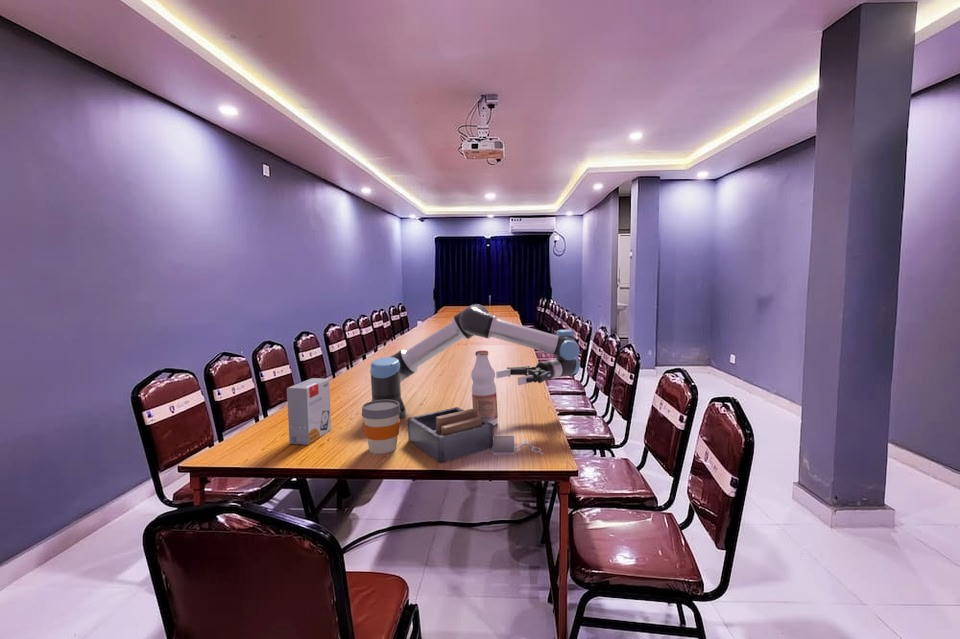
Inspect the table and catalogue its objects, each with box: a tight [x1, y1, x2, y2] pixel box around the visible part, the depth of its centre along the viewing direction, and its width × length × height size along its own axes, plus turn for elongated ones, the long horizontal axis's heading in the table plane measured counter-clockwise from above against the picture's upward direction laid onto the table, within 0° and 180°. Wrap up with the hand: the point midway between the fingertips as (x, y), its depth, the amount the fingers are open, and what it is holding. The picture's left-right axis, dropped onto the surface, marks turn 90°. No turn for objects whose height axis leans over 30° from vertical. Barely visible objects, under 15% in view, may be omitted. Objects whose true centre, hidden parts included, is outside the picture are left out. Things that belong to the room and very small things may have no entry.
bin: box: [407, 406, 494, 464], centre depth 144 cm, size 23×20×8 cm
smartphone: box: [491, 434, 516, 456], centre depth 142 cm, size 7×1×15 cm
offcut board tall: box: [436, 408, 477, 435], centre depth 140 cm, size 2×14×12 cm, turn 124°
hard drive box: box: [286, 377, 332, 446], centre depth 153 cm, size 16×8×20 cm, turn 170°
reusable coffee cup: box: [361, 400, 401, 455], centre depth 141 cm, size 13×13×15 cm
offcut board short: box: [441, 417, 482, 435], centre depth 137 cm, size 2×14×10 cm, turn 124°
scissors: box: [515, 433, 544, 455], centre depth 145 cm, size 11×1×20 cm
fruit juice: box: [470, 350, 499, 426], centre depth 162 cm, size 9×9×28 cm
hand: (507, 377), depth 163 cm, fingers open, 13 cm apart
